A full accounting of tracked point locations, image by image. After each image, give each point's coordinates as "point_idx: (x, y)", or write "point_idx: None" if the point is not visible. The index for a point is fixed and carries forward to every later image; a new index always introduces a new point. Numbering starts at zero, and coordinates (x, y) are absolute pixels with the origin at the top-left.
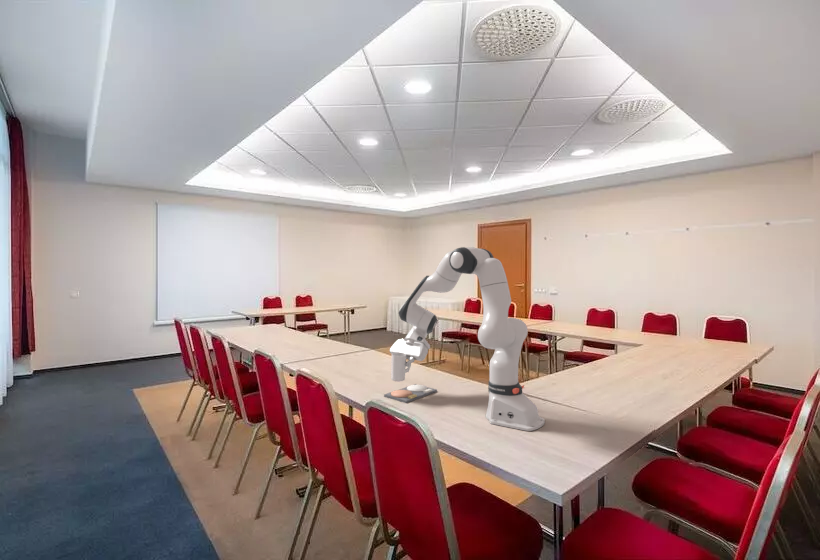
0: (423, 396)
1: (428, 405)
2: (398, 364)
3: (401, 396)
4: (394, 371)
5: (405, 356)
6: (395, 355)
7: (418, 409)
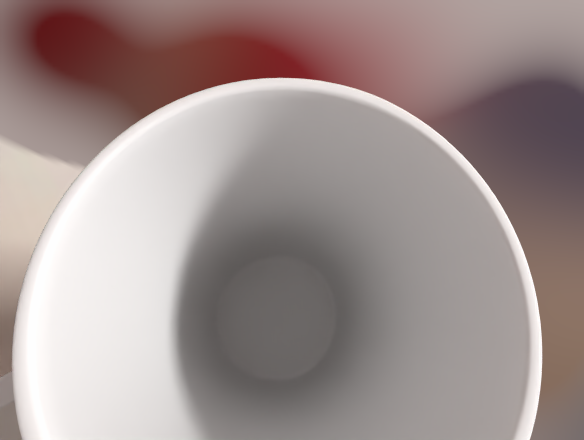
0: None
1: (9, 284)
2: (215, 203)
3: None
4: (275, 226)
5: (45, 324)
6: (455, 358)
7: (46, 199)
